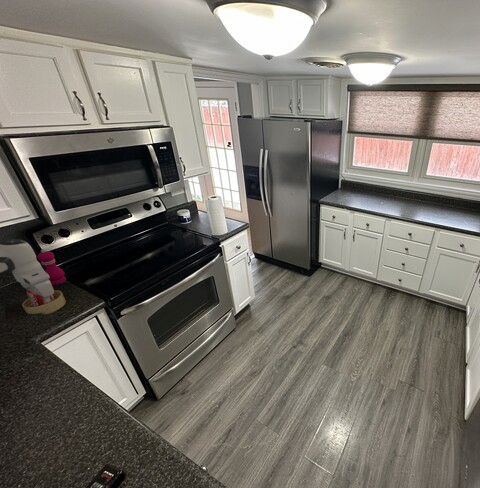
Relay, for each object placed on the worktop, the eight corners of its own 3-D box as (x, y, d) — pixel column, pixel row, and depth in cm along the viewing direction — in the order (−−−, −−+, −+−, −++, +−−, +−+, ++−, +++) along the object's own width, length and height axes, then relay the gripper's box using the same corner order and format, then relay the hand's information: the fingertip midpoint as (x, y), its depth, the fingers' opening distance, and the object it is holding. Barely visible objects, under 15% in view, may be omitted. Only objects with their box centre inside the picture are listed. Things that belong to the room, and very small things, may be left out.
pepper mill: (65, 276, 148) (49, 245, 139) (69, 281, 145) (53, 249, 136) (47, 282, 143) (30, 249, 134) (51, 287, 139) (34, 254, 130)
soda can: (55, 308, 124) (44, 287, 118) (34, 314, 120) (22, 292, 115) (58, 300, 129) (47, 280, 123) (38, 305, 125) (26, 284, 120)
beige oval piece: (36, 321, 117) (31, 311, 114) (21, 312, 121) (16, 302, 119) (72, 304, 128) (68, 294, 125) (57, 296, 132) (52, 287, 130)
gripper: (8, 271, 117) (22, 296, 123) (31, 283, 110) (45, 309, 116) (27, 265, 123) (40, 289, 129) (50, 275, 115) (63, 301, 121)
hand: (43, 298), depth 122 cm, fingers closed on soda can, 7 cm apart
